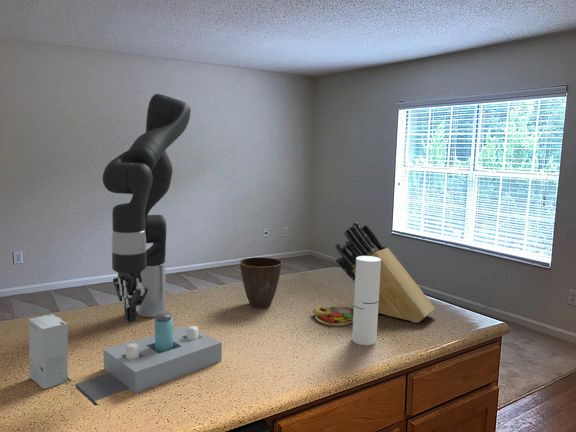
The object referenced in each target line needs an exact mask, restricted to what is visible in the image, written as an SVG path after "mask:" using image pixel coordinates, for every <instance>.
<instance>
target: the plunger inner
mask: <svg viewBox="0 0 576 432" xmlns="http://www.w3.org/2000/svg"><path fill="white" fill-rule="evenodd" d="M188 326H189V327H187V340H189V341H193V340H196V339H198V331H199V327H198V326H196V325H188Z"/></svg>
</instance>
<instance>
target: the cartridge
mask: <svg viewBox="0 0 576 432" xmlns="http://www.w3.org/2000/svg"><path fill="white" fill-rule="evenodd" d="M173 329H174V318H173V316H172V314H171V313H169V312H165V313H160V314H157V315H156V317H155V318H154V335H155V351H156V352H158V353H159V354H160V353H163V352H166V351H169V350H172V349H173Z"/></svg>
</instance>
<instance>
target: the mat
mask: <svg viewBox="0 0 576 432" xmlns="http://www.w3.org/2000/svg"><path fill="white" fill-rule="evenodd" d="M75 389H76V390H77V391H78V392H80V394H82V395H83V396H84V397H85V398H86V397H87V398H88V399H87V398H86V399H87V400H88V401H89V402H90V403H92V404H93V405H94V406H96V405H98V403H97V402H96V401H99V400H101V399H104V398H107V397H109V396H112V395H115V394H117V393H120V392H122V391H126V390H130V388H129V387H127V386H126V385H125V384H123V383H122V382H121V381H119V380H118V379H117V378H116V377H114V376H113V375H112V374H110V373H109V372H107V373H105V374H102V375H99V376H95V377H93V378H90V379H89V378H88V379H87V380H84V381H80V382H78V383H75Z"/></svg>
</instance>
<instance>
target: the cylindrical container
mask: <svg viewBox="0 0 576 432" xmlns="http://www.w3.org/2000/svg"><path fill="white" fill-rule="evenodd" d="M380 269H381V259H380V258H378V257H373V256H359V257H356V272H355V280H354V289H355V292H354V293H353V294H354V295H353V298H354V299H353V312H352V314H353V321H352V336H351V337H352V338H351V340H352V342H353V343H355V344H358V345H361V346H373V345H375V344H376V343H377V336H378V335H377V334H378V317H379V313H378V304H379V286H380Z"/></svg>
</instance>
